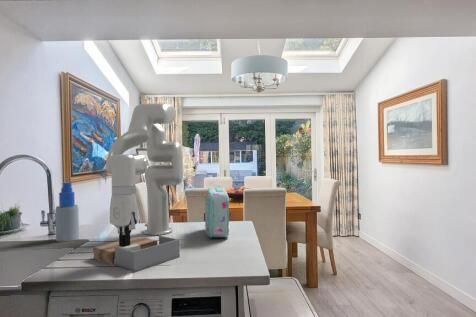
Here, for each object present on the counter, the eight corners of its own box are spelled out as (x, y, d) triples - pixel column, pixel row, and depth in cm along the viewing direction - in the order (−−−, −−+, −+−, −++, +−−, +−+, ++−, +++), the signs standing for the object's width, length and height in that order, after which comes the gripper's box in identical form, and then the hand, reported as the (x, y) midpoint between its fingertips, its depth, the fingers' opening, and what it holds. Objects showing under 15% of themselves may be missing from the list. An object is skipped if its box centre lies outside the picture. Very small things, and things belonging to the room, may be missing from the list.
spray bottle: (59, 242, 130) (58, 183, 131) (53, 239, 137) (52, 182, 137) (81, 238, 137) (80, 182, 137) (75, 235, 143) (74, 181, 143)
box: (114, 265, 99) (113, 246, 99) (159, 251, 114) (159, 235, 114) (134, 272, 93) (133, 252, 93) (179, 256, 107) (179, 239, 107)
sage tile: (122, 247, 100) (126, 248, 98) (135, 243, 104) (140, 244, 102) (122, 262, 100) (127, 264, 98) (136, 258, 104) (140, 260, 102)
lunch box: (203, 228, 153) (202, 184, 153) (224, 226, 154) (223, 184, 155) (206, 241, 126) (205, 189, 127) (231, 240, 128) (230, 188, 128)
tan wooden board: (93, 258, 107) (93, 246, 107) (138, 246, 122) (138, 236, 122) (112, 264, 100) (112, 252, 100) (157, 251, 114) (157, 240, 114)
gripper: (101, 191, 105) (102, 245, 105) (126, 193, 96) (127, 252, 96) (121, 189, 111) (122, 240, 111) (146, 191, 102) (147, 246, 102)
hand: (124, 245), depth 103 cm, fingers closed
